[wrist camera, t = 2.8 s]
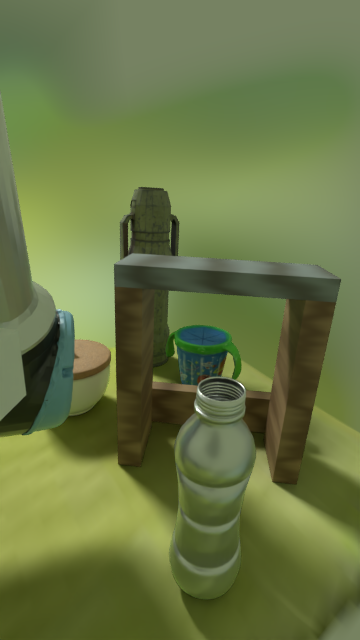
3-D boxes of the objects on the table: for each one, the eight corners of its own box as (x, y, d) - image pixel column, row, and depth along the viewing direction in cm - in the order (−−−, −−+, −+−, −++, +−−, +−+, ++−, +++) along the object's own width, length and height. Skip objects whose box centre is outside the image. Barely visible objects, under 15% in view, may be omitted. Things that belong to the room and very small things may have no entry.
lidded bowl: (15, 415, 52) (6, 352, 48) (66, 378, 63) (61, 324, 59) (84, 436, 48) (80, 369, 44) (124, 392, 59) (124, 336, 56)
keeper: (279, 426, 52) (309, 260, 43) (296, 484, 41) (341, 279, 33) (137, 412, 54) (138, 249, 45) (118, 464, 43) (114, 264, 34)
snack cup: (152, 377, 65) (153, 329, 61) (187, 360, 72) (189, 317, 69) (215, 411, 55) (221, 357, 52) (248, 388, 63) (255, 339, 59)
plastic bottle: (252, 580, 31) (286, 395, 24) (196, 631, 27) (217, 428, 20) (207, 526, 35) (224, 360, 29) (154, 563, 32) (159, 381, 25)
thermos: (114, 356, 73) (111, 186, 61) (159, 345, 79) (164, 190, 68) (134, 373, 66) (134, 185, 54) (181, 359, 73) (190, 190, 61)
